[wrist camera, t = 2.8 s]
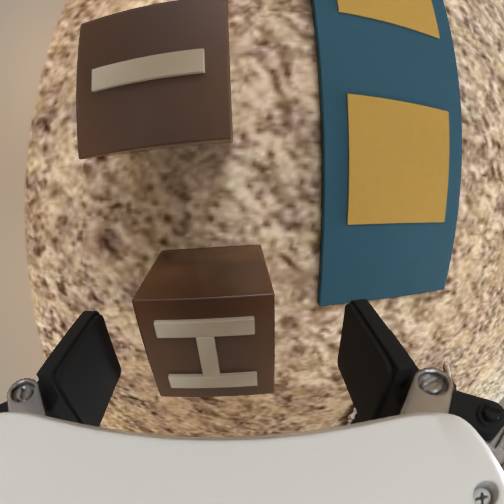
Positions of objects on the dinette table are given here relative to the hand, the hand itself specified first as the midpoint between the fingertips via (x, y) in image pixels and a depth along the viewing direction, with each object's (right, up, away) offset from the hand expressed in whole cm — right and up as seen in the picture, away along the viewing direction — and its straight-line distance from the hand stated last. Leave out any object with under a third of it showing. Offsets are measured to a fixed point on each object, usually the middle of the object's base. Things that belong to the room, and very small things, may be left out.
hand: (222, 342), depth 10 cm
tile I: (-2, +10, 0) cm, 10 cm away
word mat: (+8, +12, 0) cm, 15 cm away
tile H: (-1, +1, +3) cm, 4 cm away
